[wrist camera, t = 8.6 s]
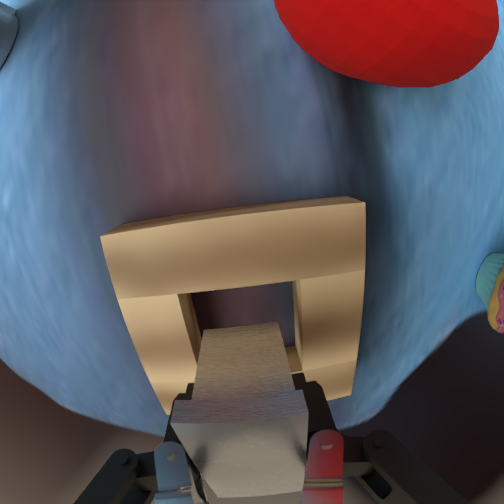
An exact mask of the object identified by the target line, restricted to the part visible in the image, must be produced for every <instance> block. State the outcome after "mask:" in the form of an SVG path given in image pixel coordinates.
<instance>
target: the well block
mask: <svg viewBox="0 0 504 504" xmlns="http://www.w3.org/2000/svg"><path fill="white" fill-rule="evenodd" d="M100 238H101V242H102V247H103V251H104V255H105V258H106V262H107V266H108V269H109V273H110V276H111V280H112V283H113V287H114V290H115V293H116V296H117V299H118V302H119V305H120V308H121V311H122V314H123V317H124V320H125V322H126V325H127V328H128V330H129V333H130V336H131V338H132V341H133V343H134V346H135V348H136V351H137V353H138V356H139V358H140V360H141V363H142V365H143V367H144V369H145V372H146V374H147V376H148V378H149V380H150V383H151V385H152V387H153V389H154V391H155V393H156V395H157V397H158V399H159V401H160V403H161V405H162V407H163V409H164V411H165V412H166V414H167V415H170V412H171V408H172V403H173V400H174V399H175V397H176V396H177V395H178V394H179V393H186V389H187V385H188V383H194V382H195V376H196V370H197V365H198V359H199V353H200V348H201V342H202V338H201V334H200V330H199V326H198V322H197V318H196V314H195V310H194V306H193V301H192V297H191V293H193V292H202V291H212V290H221V289H230V288H239V287H247V286H255V285H263V284H271V283H279V282H287V281H292V285H293V303H294V323H295V346H289V347H285V351H286V355H287V359H288V363H289V367H290V371H291V374H295V373H301V372H303V373H304V376H305V379H306V382H310V381H316V382H317V383H319V384H320V385H321V386H322V388H323V391H324V394H325V397H326V400H331V399H336V398H340V397H344V396H348V395H351V391H352V386H353V380H354V374H355V368H356V361H357V354H358V347H359V339H360V330H361V321H362V310H363V297H364V281H365V257H366V208H365V202H363V201H360V200H357V199H354V198H351V197H347V196H338V197H326V198H314V199H303V200H293V201H283V202H274V203H265V204H256V205H247V206H239V207H231V208H224V209H216V210H209V211H202V212H195V213H188V214H182V215H175V216H169V217H162V218H156V219H150V220H145V221H139V222H133V223H128V224H122V225H119V226H117V227H115V228H114V229H112V230H110V231H108V232H107V233H105V234H103V235H101V236H100Z"/></svg>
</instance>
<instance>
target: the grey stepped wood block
mask: <svg viewBox="0 0 504 504" xmlns="http://www.w3.org/2000/svg"><path fill="white" fill-rule="evenodd" d="M308 415H309V412H308V409H307V405H306V401H305V398H304V394H303V390H302V389H301V390H295V387H294V383H293V379H292V375H291V371H290V367H289V363H288V359H287V355H286V351H285V347H284V343H283V339H282V335H281V331H280V327H279V323H278V322H271V323H264V324H256V325H247V326H238V327H229V328H219V329H208V330H204V332H203V337H202V342H201V348H200V353H199V359H198V365H197V370H196V376H195V382H194V388H193V394H192V400H175V403H174V408H173V412H172V417H171V421H170V424H171V426H172V428H173V429H174V431H175V433H176V435H177V436H178V438H179V440H180V441H181V443H182V445H183V446H184V448H185V450H186V451H187V453H188V455H189V456H190V458H191V459H192V461H193V462H194V464H195V465H196V467H197V468H198V470H199V471H200V473H201V474H202V476H203V477H204V479H205V480H206V482H207V483H208V484H209V486H210V487H211V488H212V490H213V491H214V493H215V494H216V495H217V496H218V497H250V496H263V495H273V494H281V493H288V492H294V491H301V490H302V489H303V483H304V473H305V472H304V471H305V461H306V448H307V434H308Z"/></svg>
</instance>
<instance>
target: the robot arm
mask: <svg viewBox="0 0 504 504" xmlns="http://www.w3.org/2000/svg"><path fill="white" fill-rule="evenodd" d="M15 12H16V9H14V8H12V7H10V6H8V5H6V4H4V3H1V2H0V68H1V66H2V64H3V63H4V61H5V59H6V57H7V55H8V53H9V51H10V49H11V47H12V45H13V43H14V40H15V37H16V34H17V30H18V18H17V17H16V16H15ZM291 375H292V379H293V383H294V387H295V390H301V389H302V390H303V394H304V398H305V401H306V405H307V409H308V412H309V415H308V434H307V448H306V460H307V466H306V473H305V479H304V484H303V489H302V495H301V501H300V504H342V500H343V487H344V486H343V481H342V476H355V477H356V478H357V479H358V481H359V482H360V483H361V484H362V485H363V486H364V487H365V489H366V490H367V491H368V492H369V493H370V494H371V495H372V496H373V498H374V499H375V500H376V501H377V502H378V503H379V504H470V503H469V502H468V501H466V500H465V499H464V498H463V497H462V496H460V495H459V494H458V493H457V492H456V491H455V490H453V489H452V488H451V487H450V486H449V485H448V484H447V483H445V482H444V481H443V480H442V479H441V478H440V477H439V476H437V475H436V474H435V473H434V472H433V471H432V470H431V469H430V468H429V467H427V466H426V465H425V464H424V463H423V462H422V461H421V460H420V459H418V458H417V457H416V456H415V455H414V454H413V453H412V452H411V451H410V450H409V449H408V448H407V447H406V446H404V445H403V444H402V443H401V442H400V441H399V440H398V439H397V438H396V437H395V436H394V435H393V434H391V433H390V432H388V431H386V430H375V431H372V432H370V433H369V434H367V436H366V437H350V436H346V435H343V434H341V433H340V432H339V431H338V430H337V428H336V426H335V424H334V421H333V418H332V415H331V412H330V409H329V406H328V403H327V400H326V397H325V394H324V391H323V388H322V386H321V385H320V384H319V383H317V382H316V381H310V382H306V379H305V376H304V373H303V372H301V373H295V374H291ZM193 388H194V383H188V385H187V389H186V393H179V394H178V395H177V396H176V397H175V399H174V400H173V403H172V408H171V412H170V417H169V421H168V425H167V429H166V434H165V439H164V442H163V443H162V444H160V445H159V446H158V447H157V448H156V449H155V451H152V452H148V453H141V454H135V453H134V452H133V451H132V450H129V449H119V450H117V451H115V452H114V453H113V454H112V455H111V456H110V458H109V459H108V460H107V462H106V463H105V464H104V466H103V467H102V468H101V469H100V471H99V472H98V473H97V475H96V476H95V477H94V478H93V480H92V481H91V482H90V483H89V485H88V486H87V487H86V489H85V490H84V491H83V492H82V494H81V495H80V496H79V498H78V499H77V500H76V501H75V503H74V504H150V503H151V502H152V500H153V498H154V497H155V503H156V504H209V501H208V498H207V495H206V491H205V488H204V484H203V480H202V477H201V474H200V471H199V470H198V468H197V467H196V465H195V464H194V462H193V461H192V459H191V458H190V456H189V455H188V453H187V451H186V450H185V448H184V446H183V445H182V443H181V441H180V440H179V438H178V436H177V435H176V433H175V431H174V429H173V428H172V426H171V424H170V421H171V417H172V412H173V408H174V403H175V400H192V394H193Z"/></svg>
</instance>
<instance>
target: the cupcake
mask: <svg viewBox="0 0 504 504" xmlns="http://www.w3.org/2000/svg"><path fill="white" fill-rule="evenodd" d="M476 292H477V294H478V295H479V297H480V298H481V300H482V301H483V303H484V304H485V306H486V308H487V310H488V320H489V322H490V324H491V326H492V328H493V329H495V330H496V331H497V332H499V333H503V334H504V253H492V254H490V255H489V256H487V257H486V259H485V260H484V261H483V263H482V265H481V267H480V269H479V271H478V274H477V278H476Z"/></svg>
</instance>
